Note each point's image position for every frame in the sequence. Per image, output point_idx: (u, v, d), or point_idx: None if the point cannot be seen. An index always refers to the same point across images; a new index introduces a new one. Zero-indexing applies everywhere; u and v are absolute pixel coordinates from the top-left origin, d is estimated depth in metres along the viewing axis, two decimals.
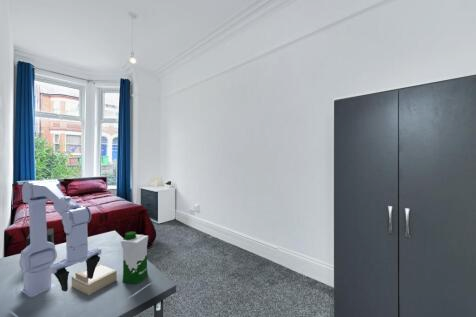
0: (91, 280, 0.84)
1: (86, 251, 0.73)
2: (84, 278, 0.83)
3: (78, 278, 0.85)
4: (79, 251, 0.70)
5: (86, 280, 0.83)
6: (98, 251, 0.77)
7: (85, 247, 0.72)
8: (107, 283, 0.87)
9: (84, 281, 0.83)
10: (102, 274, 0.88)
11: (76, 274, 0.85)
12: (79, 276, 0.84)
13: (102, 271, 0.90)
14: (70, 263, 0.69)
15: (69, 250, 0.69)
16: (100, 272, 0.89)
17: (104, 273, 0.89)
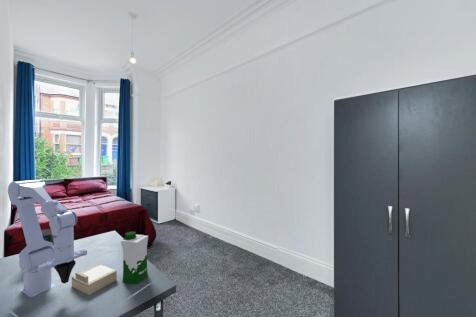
0: (91, 280, 0.84)
1: (72, 252, 0.79)
2: (84, 278, 0.83)
3: (78, 278, 0.85)
4: (65, 252, 0.77)
5: (86, 280, 0.83)
6: (84, 252, 0.84)
7: (71, 248, 0.79)
8: (107, 283, 0.87)
9: (84, 281, 0.83)
10: (102, 274, 0.88)
11: (76, 274, 0.85)
12: (79, 276, 0.84)
13: (102, 271, 0.90)
14: (57, 263, 0.75)
15: (56, 251, 0.76)
16: (100, 272, 0.89)
17: (104, 273, 0.89)
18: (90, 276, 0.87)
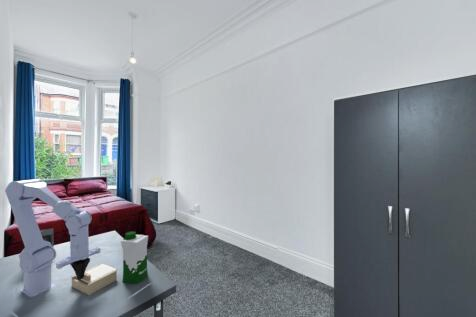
0: (93, 279, 0.85)
1: (87, 250, 0.84)
2: (87, 277, 0.83)
3: None
4: (81, 250, 0.82)
5: (89, 279, 0.84)
6: (98, 250, 0.89)
7: (86, 246, 0.84)
8: (107, 283, 0.87)
9: (87, 280, 0.83)
10: (104, 273, 0.89)
11: None
12: None
13: (104, 270, 0.91)
14: (73, 260, 0.80)
15: (72, 249, 0.81)
16: (102, 271, 0.90)
17: (106, 272, 0.89)
18: (92, 275, 0.87)
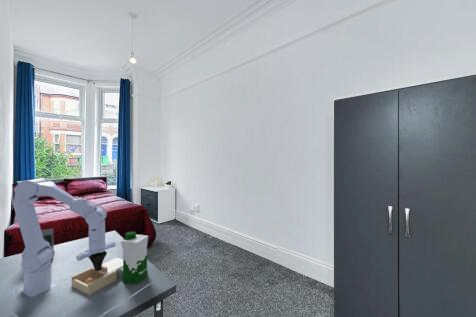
0: (110, 271, 0.90)
1: (104, 243, 0.90)
2: (104, 269, 0.89)
3: None
4: (99, 243, 0.88)
5: (105, 271, 0.89)
6: (113, 244, 0.95)
7: (103, 240, 0.89)
8: (107, 283, 0.87)
9: (104, 271, 0.89)
10: (119, 266, 0.95)
11: None
12: None
13: (119, 263, 0.97)
14: (92, 253, 0.86)
15: (91, 242, 0.87)
16: (117, 264, 0.96)
17: (121, 265, 0.95)
18: (108, 267, 0.93)
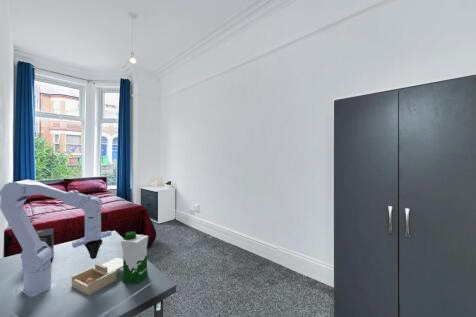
0: (110, 271, 0.90)
1: (100, 232, 0.91)
2: (104, 269, 0.89)
3: (98, 269, 0.91)
4: (94, 231, 0.89)
5: (105, 271, 0.89)
6: (109, 233, 0.96)
7: (99, 228, 0.91)
8: (107, 283, 0.87)
9: (104, 271, 0.89)
10: (119, 266, 0.95)
11: (96, 265, 0.92)
12: (99, 267, 0.91)
13: (119, 263, 0.97)
14: (88, 240, 0.87)
15: (87, 230, 0.88)
16: (117, 264, 0.96)
17: (121, 265, 0.95)
18: (108, 267, 0.93)
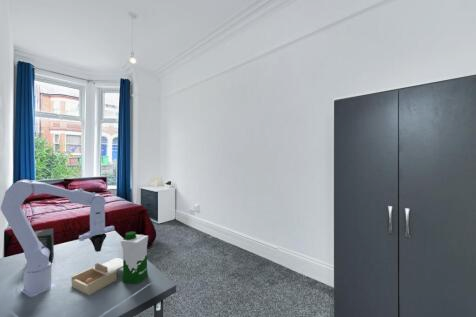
0: (110, 271, 0.90)
1: (104, 226, 0.98)
2: (104, 269, 0.89)
3: (98, 269, 0.91)
4: (99, 226, 0.95)
5: (105, 271, 0.89)
6: (112, 228, 1.02)
7: (103, 223, 0.97)
8: (107, 283, 0.87)
9: (104, 271, 0.89)
10: (119, 266, 0.95)
11: (96, 265, 0.92)
12: (99, 267, 0.91)
13: (119, 263, 0.97)
14: (93, 234, 0.94)
15: (92, 225, 0.95)
16: (117, 264, 0.96)
17: (121, 265, 0.95)
18: (108, 267, 0.93)
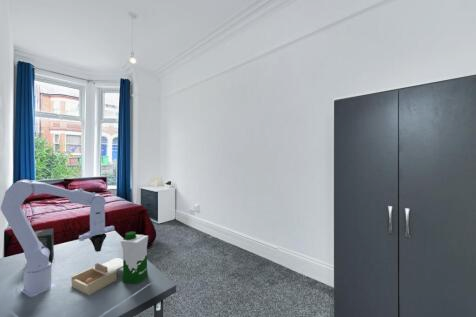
0: (110, 271, 0.90)
1: (104, 226, 0.98)
2: (104, 269, 0.89)
3: (98, 269, 0.91)
4: (99, 226, 0.95)
5: (105, 271, 0.89)
6: (112, 228, 1.02)
7: (103, 223, 0.97)
8: (107, 283, 0.87)
9: (104, 271, 0.89)
10: (119, 266, 0.95)
11: (96, 265, 0.92)
12: (99, 267, 0.91)
13: (119, 263, 0.97)
14: (93, 234, 0.94)
15: (92, 225, 0.95)
16: (117, 264, 0.96)
17: (121, 265, 0.95)
18: (108, 267, 0.93)
